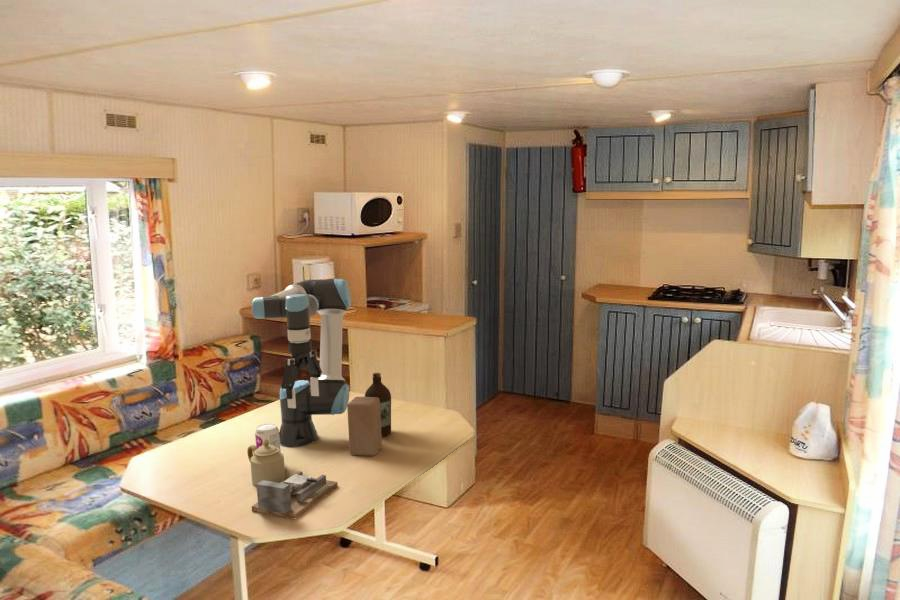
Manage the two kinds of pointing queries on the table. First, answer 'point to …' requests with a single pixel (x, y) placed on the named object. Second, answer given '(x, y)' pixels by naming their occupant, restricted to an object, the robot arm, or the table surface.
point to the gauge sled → (298, 483)
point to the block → (364, 426)
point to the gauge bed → (290, 497)
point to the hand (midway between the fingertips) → (303, 401)
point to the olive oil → (381, 402)
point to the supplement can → (267, 435)
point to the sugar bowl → (266, 463)
